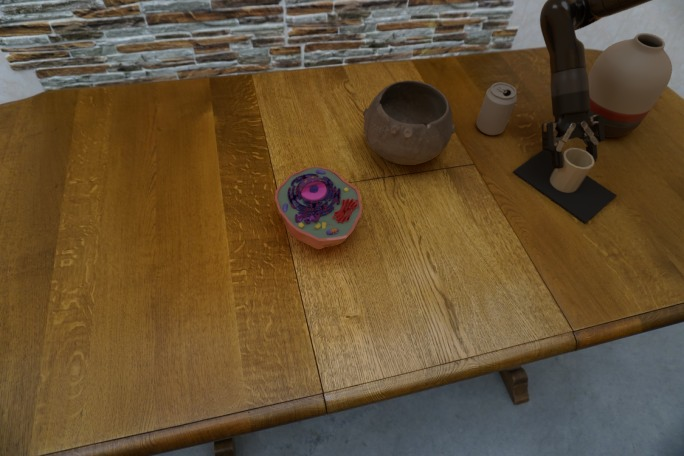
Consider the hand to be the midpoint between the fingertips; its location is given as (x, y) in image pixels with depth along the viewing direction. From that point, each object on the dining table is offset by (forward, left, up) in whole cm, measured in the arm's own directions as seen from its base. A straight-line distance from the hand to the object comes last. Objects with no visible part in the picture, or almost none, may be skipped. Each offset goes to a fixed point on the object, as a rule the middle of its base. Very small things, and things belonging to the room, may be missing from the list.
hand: (575, 165), depth 104 cm
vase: (+7, -28, -7) cm, 30 cm away
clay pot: (+32, +22, -7) cm, 39 cm away
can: (+24, -2, -7) cm, 25 cm away
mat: (0, 0, -7) cm, 7 cm away
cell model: (+26, +53, -7) cm, 59 cm away
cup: (0, 0, -6) cm, 6 cm away
